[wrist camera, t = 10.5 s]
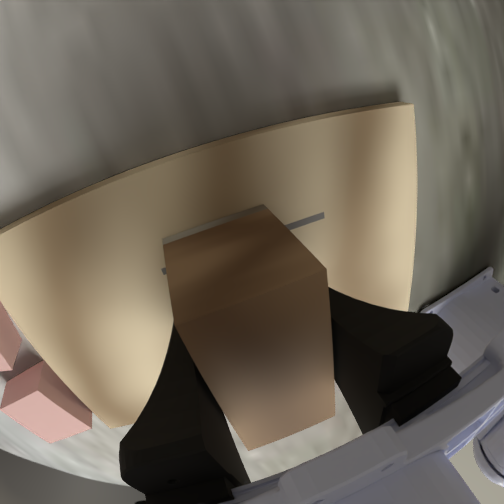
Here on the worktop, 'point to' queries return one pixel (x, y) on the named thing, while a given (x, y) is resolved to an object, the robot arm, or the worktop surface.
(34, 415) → the eraser crumb
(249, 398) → the block
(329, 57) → the worktop surface
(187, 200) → the board
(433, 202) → the worktop surface
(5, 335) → the eraser crumb
